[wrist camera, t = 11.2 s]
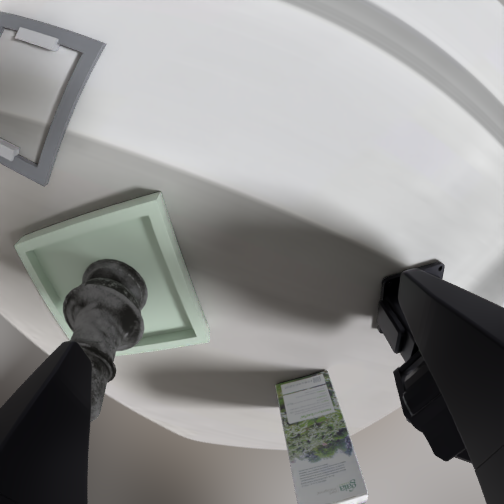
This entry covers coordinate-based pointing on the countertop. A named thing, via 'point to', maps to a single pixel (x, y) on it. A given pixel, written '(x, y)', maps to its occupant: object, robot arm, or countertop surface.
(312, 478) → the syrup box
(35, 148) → the countertop surface
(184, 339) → the tray
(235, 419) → the countertop surface
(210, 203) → the countertop surface
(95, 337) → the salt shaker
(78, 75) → the socket
